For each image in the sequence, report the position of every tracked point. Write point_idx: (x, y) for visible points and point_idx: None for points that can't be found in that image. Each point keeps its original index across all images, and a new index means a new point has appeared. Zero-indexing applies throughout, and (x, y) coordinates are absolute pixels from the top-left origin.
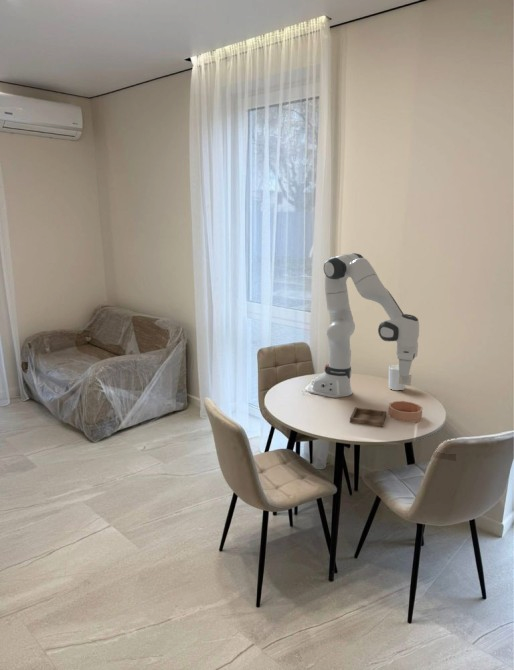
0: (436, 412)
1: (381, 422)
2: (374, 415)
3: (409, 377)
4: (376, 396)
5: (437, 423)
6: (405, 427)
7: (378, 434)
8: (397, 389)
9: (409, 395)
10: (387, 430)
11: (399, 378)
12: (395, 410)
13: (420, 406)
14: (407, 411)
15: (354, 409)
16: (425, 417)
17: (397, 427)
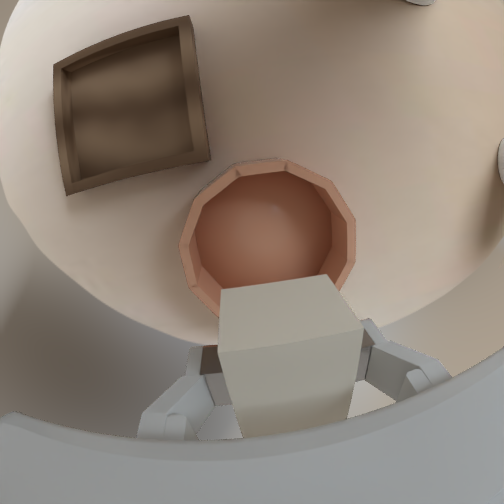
0: None
1: (66, 190)
2: (181, 111)
3: (250, 433)
4: (440, 88)
5: None
6: (150, 264)
7: (42, 195)
8: (501, 166)
9: (480, 209)
10: (84, 211)
11: (220, 338)
12: (187, 219)
13: None
14: (317, 239)
15: (155, 24)
16: None
17: (131, 236)
